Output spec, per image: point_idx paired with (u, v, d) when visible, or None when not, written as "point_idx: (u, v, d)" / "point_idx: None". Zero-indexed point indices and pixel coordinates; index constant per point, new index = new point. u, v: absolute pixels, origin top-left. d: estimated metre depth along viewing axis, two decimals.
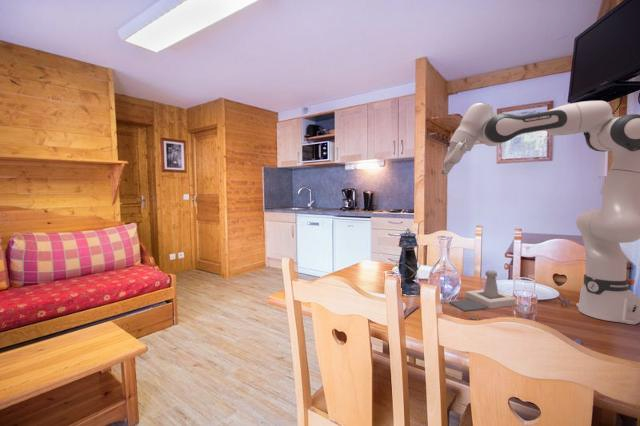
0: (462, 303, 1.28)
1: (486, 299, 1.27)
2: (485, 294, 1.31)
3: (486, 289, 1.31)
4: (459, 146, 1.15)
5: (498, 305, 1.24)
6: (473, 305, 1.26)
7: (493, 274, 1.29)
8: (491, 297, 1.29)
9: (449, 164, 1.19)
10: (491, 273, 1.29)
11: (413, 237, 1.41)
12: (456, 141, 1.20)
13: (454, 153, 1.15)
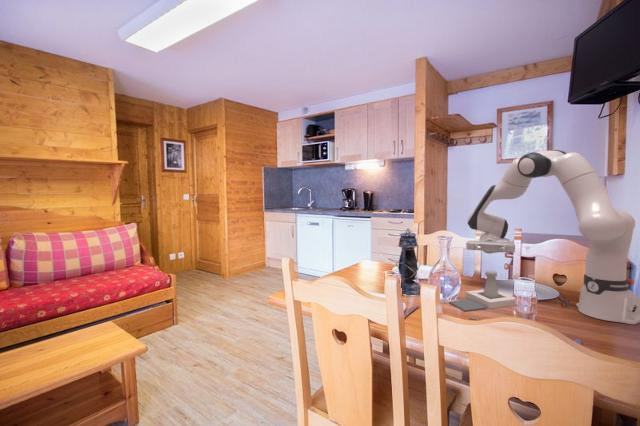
0: (462, 303, 1.28)
1: (486, 299, 1.27)
2: (485, 294, 1.31)
3: (486, 289, 1.31)
4: None
5: (498, 305, 1.24)
6: (473, 305, 1.26)
7: (493, 274, 1.29)
8: (491, 297, 1.29)
9: (474, 248, 1.47)
10: (491, 273, 1.29)
11: (413, 237, 1.41)
12: None
13: None
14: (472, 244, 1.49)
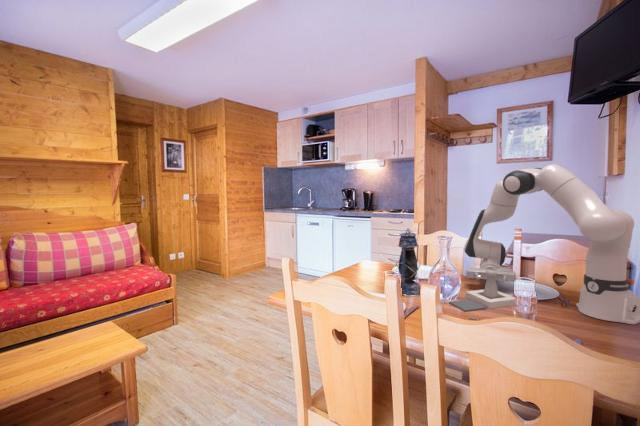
0: (462, 303, 1.28)
1: (486, 299, 1.27)
2: (485, 294, 1.31)
3: (486, 289, 1.31)
4: None
5: (498, 305, 1.24)
6: (473, 305, 1.26)
7: (493, 274, 1.29)
8: (491, 297, 1.29)
9: (474, 276, 1.44)
10: (491, 273, 1.29)
11: (413, 237, 1.41)
12: None
13: None
14: (472, 272, 1.46)
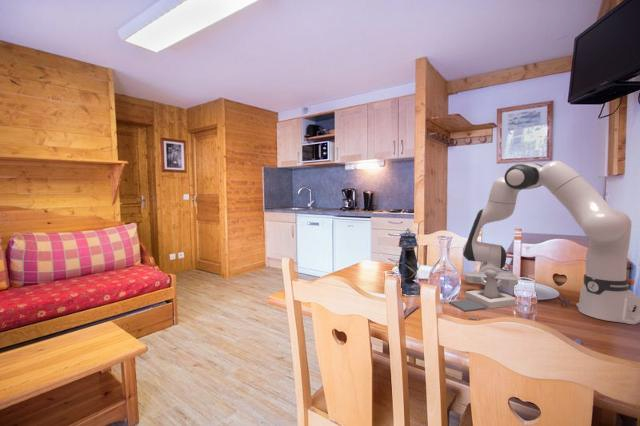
0: (462, 303, 1.28)
1: (486, 299, 1.27)
2: (485, 294, 1.31)
3: (486, 289, 1.31)
4: None
5: (498, 305, 1.24)
6: (473, 305, 1.26)
7: (493, 274, 1.29)
8: (491, 297, 1.29)
9: (480, 282, 1.35)
10: (491, 273, 1.29)
11: (413, 237, 1.41)
12: None
13: None
14: (471, 277, 1.38)
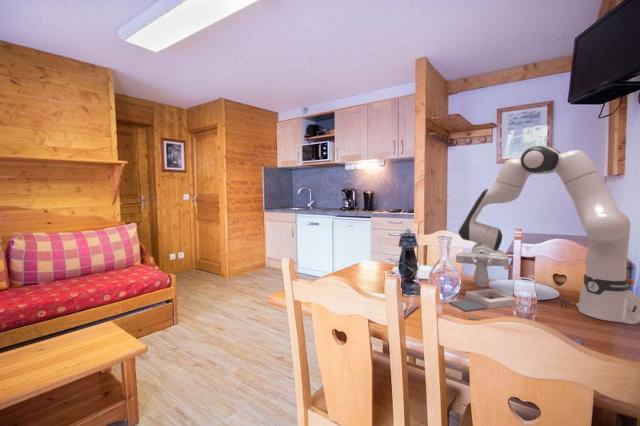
0: (462, 303, 1.28)
1: (486, 299, 1.27)
2: (475, 279, 1.29)
3: (476, 274, 1.29)
4: None
5: (498, 305, 1.24)
6: (473, 305, 1.26)
7: (483, 258, 1.27)
8: (481, 281, 1.27)
9: (471, 261, 1.33)
10: (481, 257, 1.27)
11: (413, 237, 1.41)
12: None
13: None
14: (462, 257, 1.36)
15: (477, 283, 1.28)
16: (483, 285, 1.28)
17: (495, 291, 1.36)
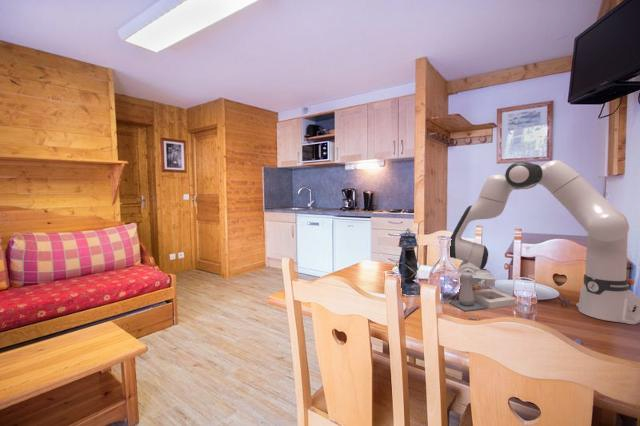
0: None
1: (486, 299, 1.27)
2: (460, 297, 1.26)
3: (461, 292, 1.26)
4: None
5: (498, 305, 1.24)
6: (473, 305, 1.26)
7: (468, 277, 1.24)
8: (466, 300, 1.24)
9: None
10: (466, 276, 1.24)
11: (413, 237, 1.41)
12: None
13: None
14: None
15: (462, 302, 1.26)
16: (468, 304, 1.25)
17: (495, 291, 1.36)
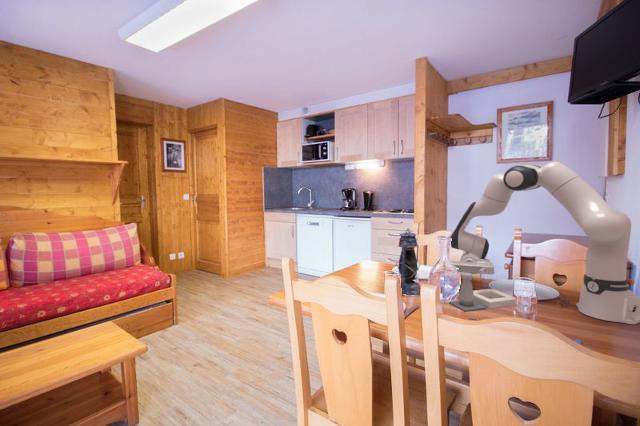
0: None
1: (486, 299, 1.27)
2: (460, 297, 1.26)
3: (461, 292, 1.26)
4: None
5: (498, 305, 1.24)
6: (473, 305, 1.26)
7: (468, 277, 1.24)
8: (466, 300, 1.24)
9: None
10: (466, 276, 1.24)
11: (413, 237, 1.41)
12: None
13: None
14: None
15: (462, 302, 1.26)
16: (468, 304, 1.25)
17: (495, 291, 1.36)
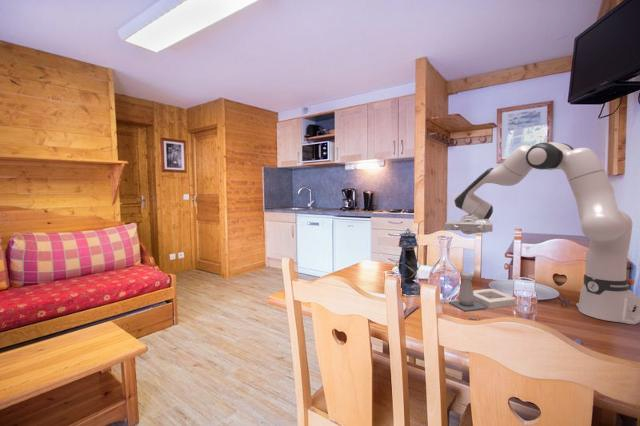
0: None
1: (486, 299, 1.27)
2: (460, 297, 1.26)
3: (461, 292, 1.26)
4: None
5: (498, 305, 1.24)
6: (473, 305, 1.26)
7: (468, 277, 1.24)
8: (466, 300, 1.24)
9: (452, 228, 1.46)
10: (466, 276, 1.24)
11: (413, 237, 1.41)
12: None
13: None
14: (450, 224, 1.48)
15: (462, 302, 1.26)
16: (468, 304, 1.25)
17: (495, 291, 1.36)
